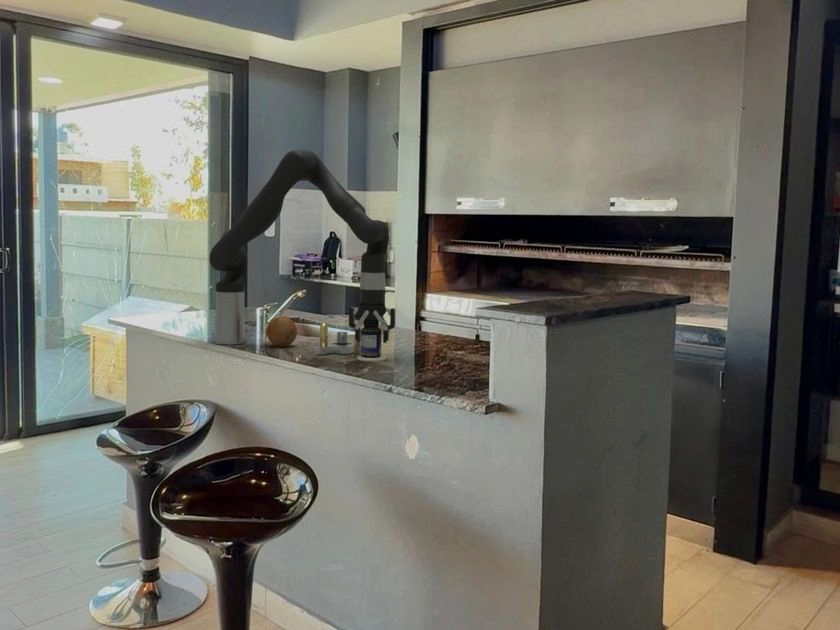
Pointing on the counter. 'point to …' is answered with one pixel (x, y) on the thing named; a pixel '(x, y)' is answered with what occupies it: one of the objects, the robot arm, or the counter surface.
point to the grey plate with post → (331, 344)
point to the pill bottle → (371, 339)
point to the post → (341, 338)
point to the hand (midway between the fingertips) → (371, 342)
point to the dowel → (356, 347)
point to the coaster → (372, 358)
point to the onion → (281, 331)
